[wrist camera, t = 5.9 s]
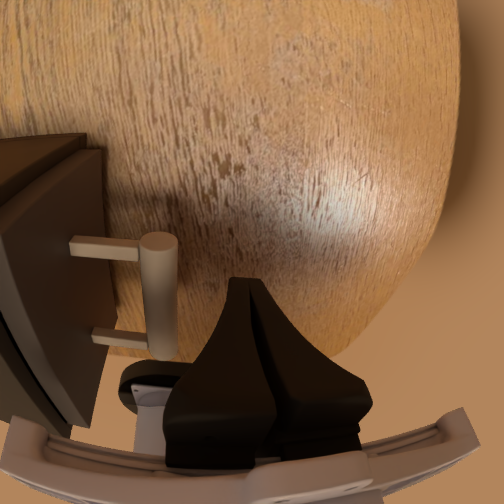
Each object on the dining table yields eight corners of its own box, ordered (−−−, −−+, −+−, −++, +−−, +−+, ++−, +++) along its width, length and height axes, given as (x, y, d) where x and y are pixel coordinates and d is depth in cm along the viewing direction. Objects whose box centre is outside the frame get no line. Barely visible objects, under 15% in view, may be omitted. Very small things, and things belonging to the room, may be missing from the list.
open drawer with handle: (191, 152, 12) (159, 247, 6) (183, 324, 18) (176, 442, 11) (-64, 162, 9) (-142, 222, 3) (-29, 291, 15) (-74, 365, 8)
